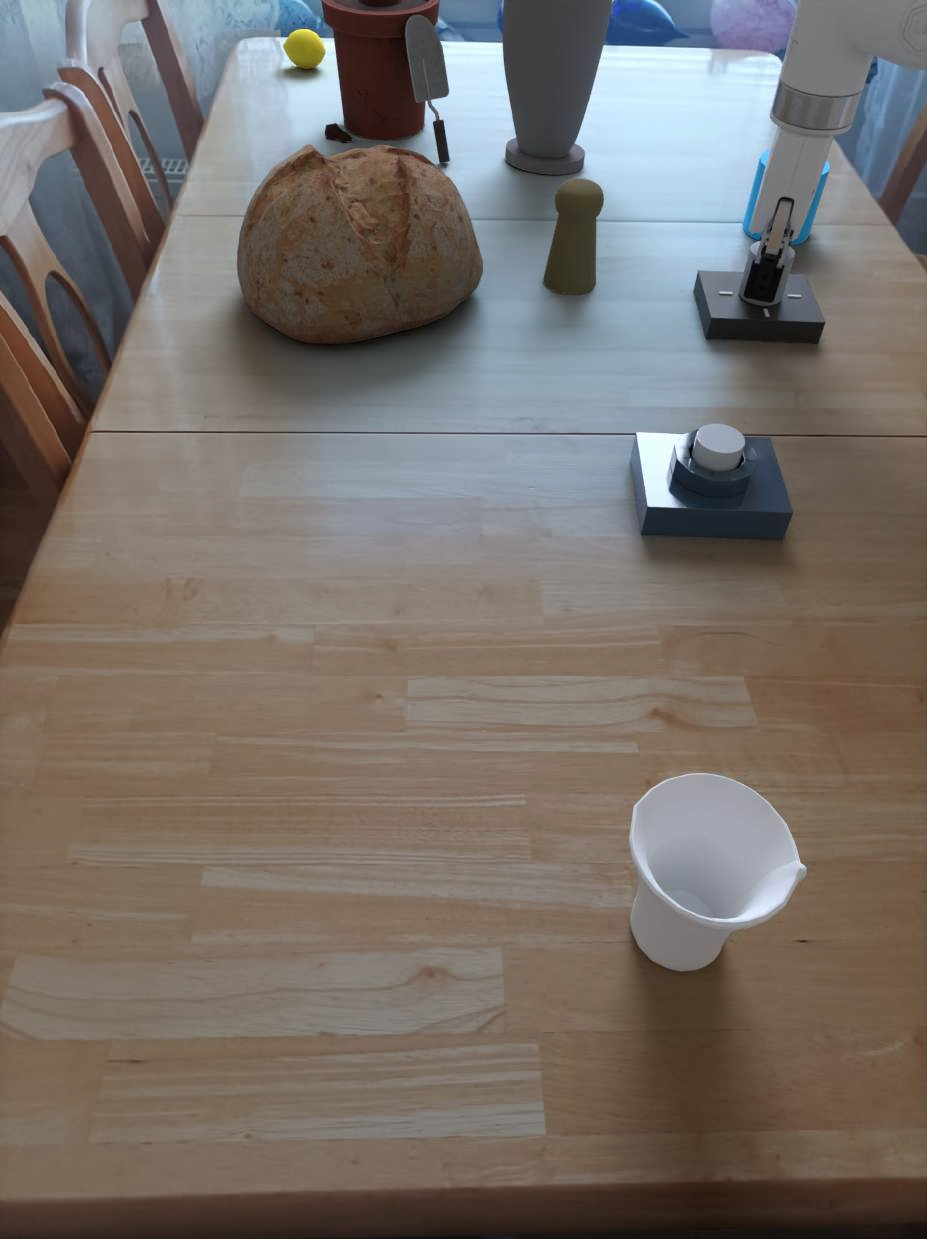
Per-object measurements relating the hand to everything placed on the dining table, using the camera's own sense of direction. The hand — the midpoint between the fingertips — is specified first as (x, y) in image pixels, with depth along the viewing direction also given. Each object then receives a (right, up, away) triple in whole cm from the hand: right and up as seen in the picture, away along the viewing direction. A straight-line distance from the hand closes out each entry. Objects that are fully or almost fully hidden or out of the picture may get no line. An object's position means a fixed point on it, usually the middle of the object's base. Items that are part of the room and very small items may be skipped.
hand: (762, 285), depth 100 cm
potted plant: (-43, +34, +33) cm, 64 cm away
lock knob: (0, -1, +1) cm, 1 cm away
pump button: (-11, -22, -21) cm, 33 cm away
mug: (+6, +11, +16) cm, 20 cm away
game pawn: (-20, +3, +7) cm, 21 cm away
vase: (-21, +27, +28) cm, 44 cm away
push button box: (-11, -25, -18) cm, 33 cm away
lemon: (-57, +52, +49) cm, 92 cm away
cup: (-19, -54, -44) cm, 72 cm away
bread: (-43, 0, +3) cm, 43 cm away
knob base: (0, -2, +3) cm, 4 cm away
